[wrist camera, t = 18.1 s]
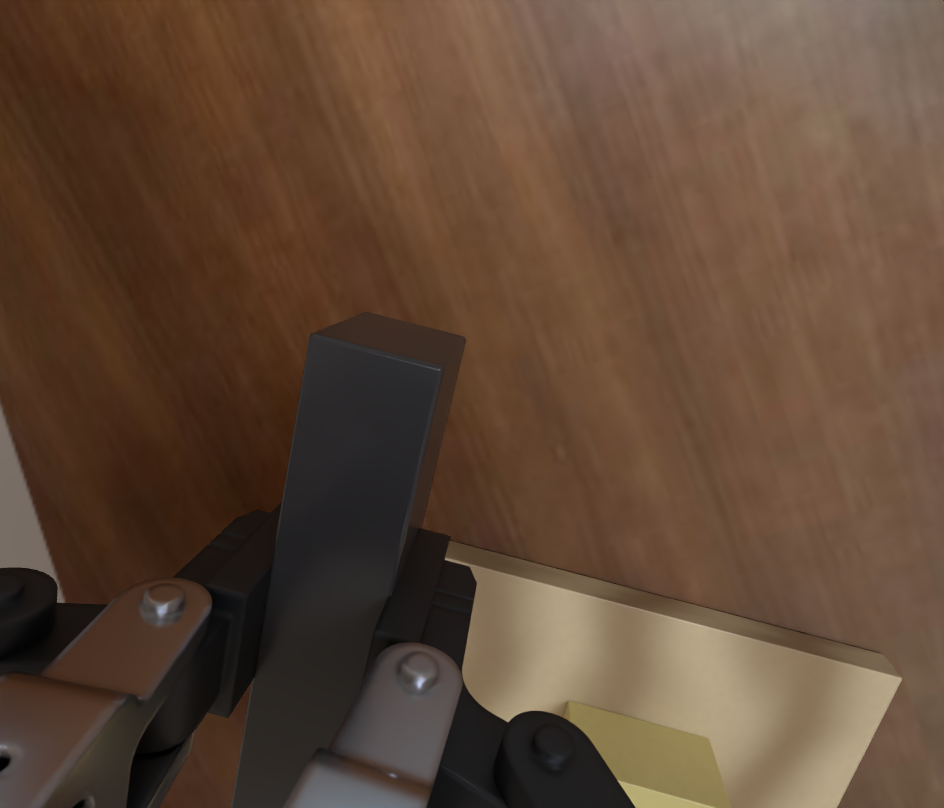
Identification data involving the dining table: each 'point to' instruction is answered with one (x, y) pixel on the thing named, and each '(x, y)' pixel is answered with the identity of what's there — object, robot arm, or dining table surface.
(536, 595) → the board
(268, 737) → the screwdriver
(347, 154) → the dining table surface
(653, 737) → the butter
